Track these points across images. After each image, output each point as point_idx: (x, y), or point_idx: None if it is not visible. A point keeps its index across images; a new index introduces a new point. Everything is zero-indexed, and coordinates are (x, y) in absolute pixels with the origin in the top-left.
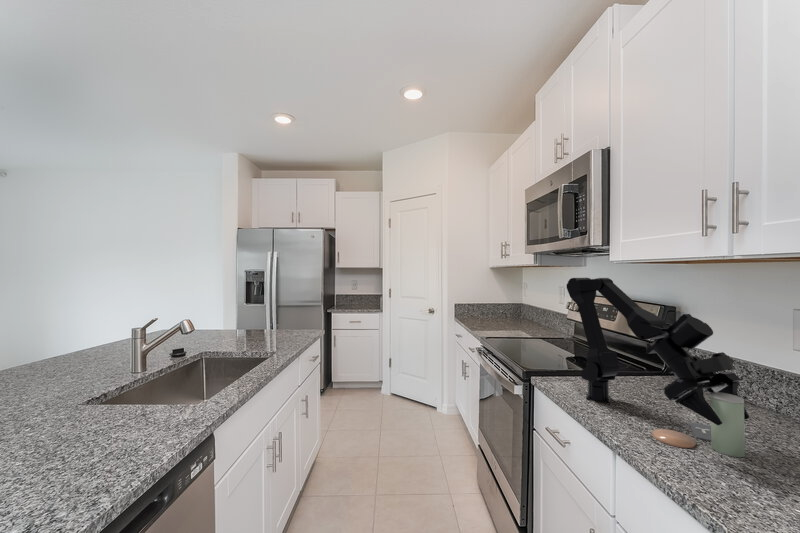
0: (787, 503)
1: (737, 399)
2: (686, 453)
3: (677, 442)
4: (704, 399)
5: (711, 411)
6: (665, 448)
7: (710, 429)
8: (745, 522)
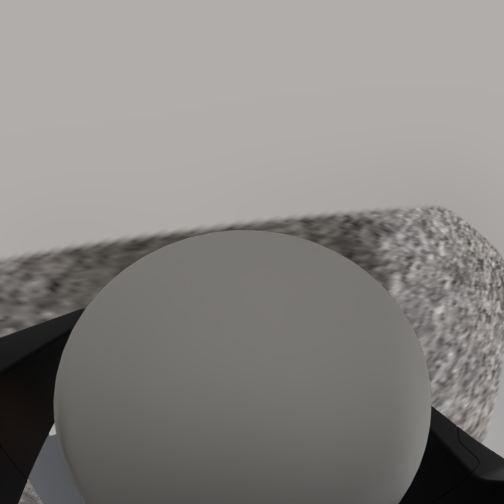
0: (396, 216)
1: (275, 290)
2: None
3: None
4: (475, 469)
5: (435, 412)
6: None
7: (61, 473)
8: (488, 247)
